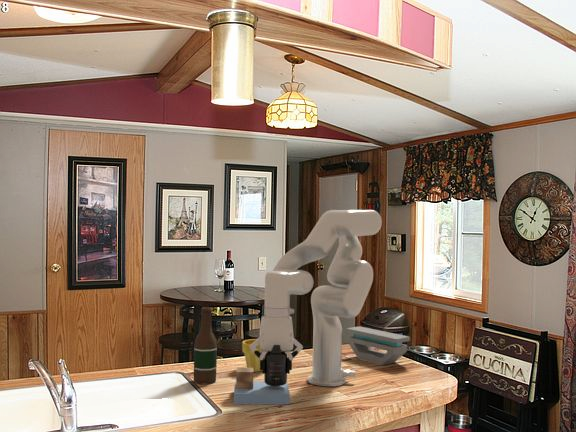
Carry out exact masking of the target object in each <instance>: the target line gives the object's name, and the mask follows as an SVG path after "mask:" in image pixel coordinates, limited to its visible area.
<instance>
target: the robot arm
mask: <svg viewBox="0 0 576 432" xmlns="http://www.w3.org/2000/svg"><path fill="white" fill-rule="evenodd" d="M382 223H383V220H382V217H381V215H380V213H379V212H378V211H376V210H374V209H342V210H341V209H339V210H338V209H330V210H327V211H325V212H324V213H323V214H321V216H320V217H319V219H318V221H317V222H316V224H315V225H314V227H313V228H312V230H311V232H310V233H309V234H308V236H307V238H306V239H305V240H304V241H303V242H300V243H299V244H297V245H296V246H295V247H293V248H291V249H290V250H288V251H287V252H286V253H285V254H283V255H282V257H281V258H280V259H279V260H278V262H277V263H276V265H275V266H274V267H273V269H272V271H271V270H270V271H268V272H266V273H265V277H264V308H263V309H264V313H263V314H264V315H263V316H261V320H260V325H259V337H258V338H256V339H257V340H255V341H254V342H253V343H252V344H251V345H250V349H251V350H252V351H253V352H254V354H255V355H256V356H257V357H258V358H259V359H260V370H262V371H261V374H263V375H264V373H265V359H264V357H265V355H266V353H267V352H271V350H272V347H273V346H274V345H280V349H282V352H286V354H287V375H288V374H289V375H290V372H291V371H292V370H293V369H292V368H293V360H294V359H295V357H297V356H298V354H299V353H300V352H301V350H303V348H304V346H303V345H302V344H301V343H300V342H299V341H298V340H297V339H296V338H295V337H294V328H293V325H294V324H293V318H292V316H290V315H292V314H295V308H291V306H290V305H291V304H290V303H291V302H290V301H291V295H299V296H302V295H305V294H308V293H309V292H311V290H312V289H313V287H314V283H315V282H314V281H315V280H314V278H313V275H312V274H311V273H310V272H309V271H306V270H303V269H300V268H301V267H302V266H305V265H307V264H310V263H312V262H317V261H319V260H322V259H324V258H325V257H327V256H328V255H329V254H330V252H331V250H332V248H333V247H334V245H335V243H336V241H337V240H338V243H339V244H338V247H337V250H336V253H335V255H334V257H333V258H332V260H331V263H330V265H329V268H328V270H327V272H326V278H327V281H328V283H330V284H331V285H320V286H317V287H316V288H315V289H314V290H313V291H312V293H311V296H310V304H311V310H312V311H311V312H312V319H313V322H312V323H313V334H312V335H313V336H312V371H311V374H310V375H308V376H307V382H308V383H309V384H311V385H314V386H319V387H339V386H343V385H344V384H345V383H347V380H346V377H350V378H356V376H357V375H356V374H357V373H356V371H355V370H350V369H344V368H343V367H342V352H343V351H342V345H343V343H342V342H343V325H342V322H341V320H340V318H345V319H354V318H355V317H358V316H359V314H360V312H361V311H362V308H363V307H364V303H365V302H366V299H367V297H368V295H369V292H370V290H371V287H372V284H373V281H374V269H373V266H372V265H371V264H370V262H368V261H366V260H363V259H362V260H361V258H362V256H363V246H362V244H361V242H360V240H359V237H365V236H373V235H376V234H377V233H379V231H380V230H381V228H382ZM258 344H259V346H260V350H262V351H261V353H260V352H259V351H258V350H257V349H256V348H255V347H256V346H257V345H258ZM294 346H295V347H296V348H295V349H294ZM293 349H294V350H293ZM291 351H292V352H291Z"/></svg>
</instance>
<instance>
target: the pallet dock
mask: <svg viewBox="0 0 576 432" xmlns="http://www.w3.org/2000/svg"><path fill="white" fill-rule="evenodd" d="M290 395H291V393H290V389H289V385H288V382H287V383H286V384H285V385H282V386H270V385H267V384H265V382H264V381H253V389H236V381H234V390H233V405H290V401H291V400H290V399H291V397H290Z"/></svg>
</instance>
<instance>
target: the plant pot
mask: <svg viewBox="0 0 576 432" xmlns="http://www.w3.org/2000/svg"><path fill="white" fill-rule="evenodd" d="M257 339H258V338H251V339H245V340H243V341H242V344H241V345H242V346H241V347H242V349H241V351H242V353H243V354H244V358H245V363H246V368H253V371H254V372H258V373H259V372H262V370H260V359H259V358H258V357H257V356H256V355H255V354H254V352H253V351H252V350H251V349H250V345H251V344H252V343H253V342H254V341H255V340H257ZM255 348H256V349H257V350H258V351H259V352H260V353H261V351H262V350H260V346H259V344H258V345H257V346H256V347H255ZM264 359H265V357H264Z"/></svg>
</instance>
